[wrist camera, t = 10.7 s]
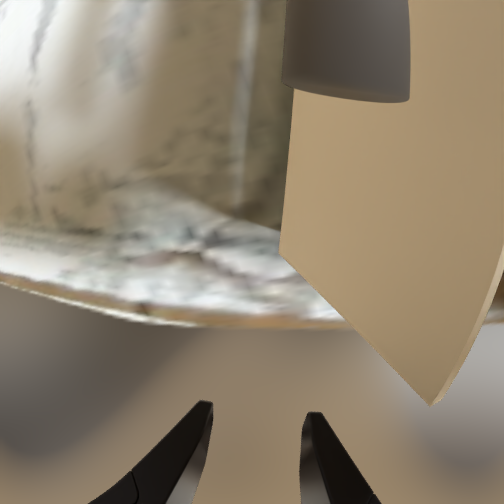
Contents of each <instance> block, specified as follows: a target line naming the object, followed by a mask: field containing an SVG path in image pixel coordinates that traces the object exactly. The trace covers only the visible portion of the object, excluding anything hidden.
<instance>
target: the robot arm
mask: <svg viewBox="0 0 504 504" xmlns="http://www.w3.org/2000/svg"><path fill="white" fill-rule="evenodd" d="M212 424H213V403H212V402H210V401H205V400H200V401H198V402H197V403H196V404H195V405H194V407H193V408H192V409H191V410H190V411H189V412H188V413H187V414H186V415H185V416H184V417H183V418H182V419H181V420H180V421H179V422H178V423H177V424H176V425H175V427H173V429H172V430H171V431H170V432H169V433H168V434H167V435H166V436H165V437H164V438H163V439H162V440H161V441H160V442H159V443H158V444H157V445H156V446H155V447H154V448H153V449H152V450H151V451H150V452H149V453H148V454H147V455H146V456H145V457H144V458H143V459H142V460H141V461H140V462H139V463H138V464H137V465H136V466H134V467H133V468H132V471H129V472H128V473H127V474H126V475H125V476H124V477H123V478H122V479H121V480H119V481H118V482H117V483H116V484H115V485H114V486H112V487H111V488H110V489H108V490H107V491H106V492H104V493H103V494H102V495H100V496H99V497H97V498H96V499H94V500H93V501H91V502H90V503H88V504H192V501H193V498H194V495H195V492H196V489H197V487H198V483H199V480H200V478H201V474H202V472H203V469H204V466H205V462H206V457H207V452H208V447H209V441H210V435H211V430H212ZM299 476H300V492H301V504H381V502H380V501H379V499H378V498H377V496H376V495H375V494H373V491H372V489H371V488H370V486H369V485H368V483H367V482H366V480H365V479H364V477H363V476H362V474H361V473H360V471H359V470H358V468H357V466H356V465H355V463H354V462H353V461H352V459H351V458H350V456H349V454H348V453H347V451H346V450H345V448H344V447H343V445H342V444H341V442H340V441H339V439H338V437H337V436H336V434H335V433H334V431H333V430H332V428H331V426H330V425H329V423H328V422H327V420H326V419H325V417H324V416H323V414H322V413H321V412H308V413H307V416H306V419H305V421H304V424H303V427H302V436H301V454H300V470H299Z"/></svg>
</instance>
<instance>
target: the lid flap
mask: <svg viewBox="0 0 504 504" xmlns="http://www.w3.org/2000/svg"><path fill="white" fill-rule="evenodd" d="M281 81H282V83H283V84H285V85H287V86H289V87H291V88H294V97H293V109H292V121H291V133H290V144H289V155H288V166H287V177H286V187H285V197H284V206H283V216H282V225H281V234H280V243H279V252H278V253H279V254H280V255H281V256H282V257H283V258H284V259H285V260H286V261H287V262H288V263H289V264H290V265H291V266H292V267H293V268H294V269H295V270H296V271H297V272H298V273H299V274H300V275H301V276H302V277H303V278H304V279H305V280H306V281H307V282H308V283H309V284H310V285H311V286H312V287H313V288H314V289H315V290H316V291H317V292H318V293H319V294H320V295H321V296H322V297H323V298H324V299H325V300H326V301H327V302H328V303H329V304H330V305H331V306H332V307H333V308H334V309H335V310H336V311H337V312H338V313H339V314H340V315H341V316H342V317H343V318H344V319H345V320H346V321H347V322H348V323H349V324H350V325H351V326H352V327H353V328H354V329H355V330H356V331H357V332H358V333H359V334H360V335H361V336H362V337H363V338H364V339H365V340H366V341H367V342H368V343H369V344H370V345H371V346H372V347H373V348H374V349H375V350H376V351H377V352H378V353H379V354H380V355H381V356H382V357H383V358H384V359H385V360H386V362H387V363H388V364H389V365H390V366H391V367H392V368H393V369H394V370H395V371H396V372H397V373H398V374H399V375H400V376H401V377H402V378H403V379H404V380H405V381H406V382H407V383H408V384H409V385H410V386H411V387H412V388H413V390H414V391H415V392H416V393H417V394H418V395H419V396H420V397H421V398H422V399H423V400H424V401H425V402H426V403H427V404H428V405H429V406H430V407H431V406H432V405H434V404H435V403H437V402H439V401H440V400H442V398H443V397H444V395H445V393H446V392H447V390H448V389H449V387H450V385H451V384H452V382H453V380H454V379H455V377H456V375H457V373H458V372H459V370H460V368H461V366H462V364H463V363H464V361H465V359H466V357H467V355H468V353H469V351H470V349H471V347H472V345H473V343H474V341H475V339H476V337H477V335H478V333H479V331H480V329H481V327H482V324H483V322H484V320H485V318H486V315H487V313H488V311H489V308H490V306H491V303H492V301H493V298H494V296H495V293H496V290H497V288H498V285H499V282H500V279H501V276H502V273H503V270H504V0H287V7H286V22H285V37H284V51H283V65H282V78H281Z"/></svg>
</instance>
